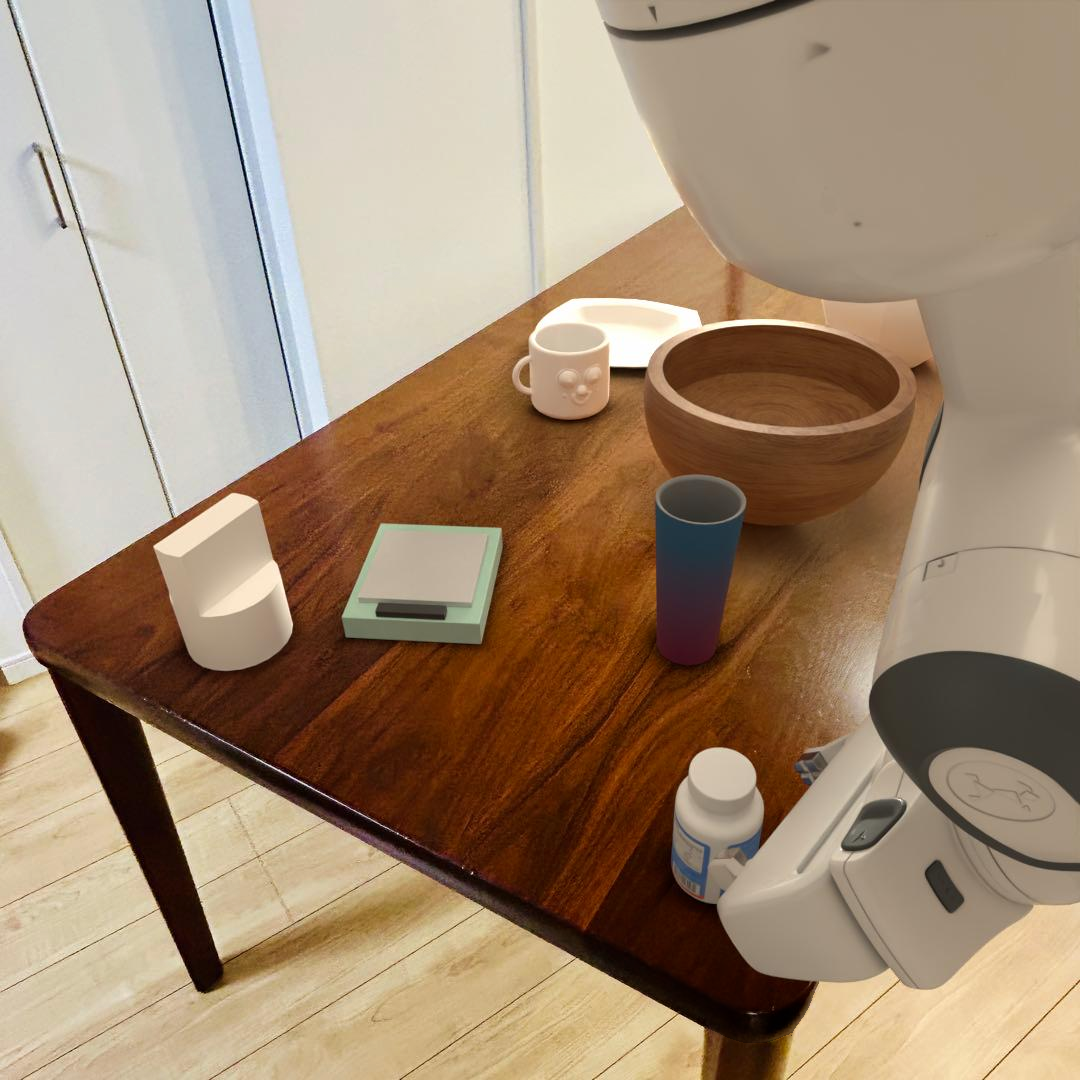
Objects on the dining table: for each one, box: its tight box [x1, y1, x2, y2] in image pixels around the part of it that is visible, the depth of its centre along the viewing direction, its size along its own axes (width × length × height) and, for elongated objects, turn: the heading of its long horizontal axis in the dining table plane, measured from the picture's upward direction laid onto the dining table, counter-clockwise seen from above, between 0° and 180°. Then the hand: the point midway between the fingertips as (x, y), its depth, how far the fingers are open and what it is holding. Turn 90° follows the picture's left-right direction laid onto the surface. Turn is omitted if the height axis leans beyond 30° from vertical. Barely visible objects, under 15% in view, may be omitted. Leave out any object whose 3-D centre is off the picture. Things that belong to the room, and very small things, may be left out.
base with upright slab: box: [153, 492, 294, 672], centre depth 76 cm, size 9×9×12 cm
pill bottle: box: [670, 747, 765, 905], centre depth 57 cm, size 6×5×10 cm
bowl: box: [643, 318, 917, 526], centre depth 89 cm, size 25×25×15 cm
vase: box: [821, 299, 934, 369], centre depth 113 cm, size 18×18×30 cm
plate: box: [534, 297, 703, 369], centre depth 126 cm, size 23×23×2 cm
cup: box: [654, 475, 746, 666], centre depth 72 cm, size 7×7×15 cm
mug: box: [511, 322, 611, 421], centre depth 109 cm, size 12×10×9 cm
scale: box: [341, 522, 504, 645], centre depth 83 cm, size 14×12×3 cm
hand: (764, 816), depth 53 cm, fingers open, 8 cm apart
